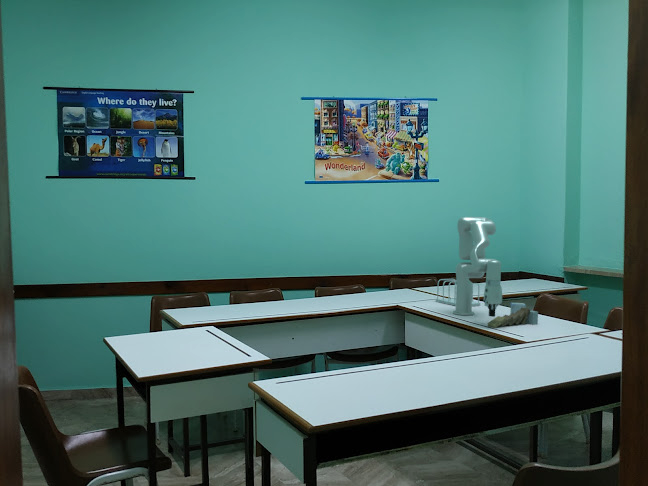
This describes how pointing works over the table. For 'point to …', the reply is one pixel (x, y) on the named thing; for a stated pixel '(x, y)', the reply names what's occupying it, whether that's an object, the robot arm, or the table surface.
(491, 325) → the domino
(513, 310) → the medicine box
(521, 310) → the domino
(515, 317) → the domino
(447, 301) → the file sorter
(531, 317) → the bookend block
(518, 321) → the domino
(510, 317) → the domino
